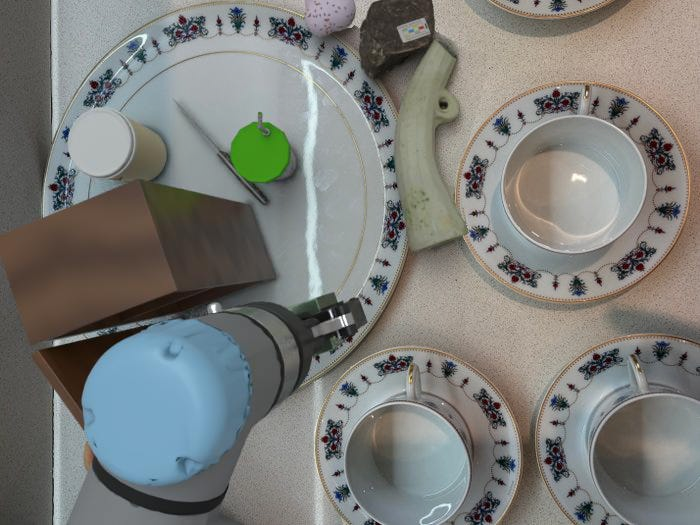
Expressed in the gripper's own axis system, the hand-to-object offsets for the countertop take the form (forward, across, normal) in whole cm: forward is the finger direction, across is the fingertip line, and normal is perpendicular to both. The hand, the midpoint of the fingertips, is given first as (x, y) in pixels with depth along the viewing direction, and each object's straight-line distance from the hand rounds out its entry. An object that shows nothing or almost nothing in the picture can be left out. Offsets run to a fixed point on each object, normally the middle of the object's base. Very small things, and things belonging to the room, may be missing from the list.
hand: (318, 323), depth 69 cm
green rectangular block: (+1, 0, 0) cm, 1 cm away
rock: (+20, -14, -35) cm, 43 cm away
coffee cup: (+24, +22, -31) cm, 45 cm away
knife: (+24, +11, -27) cm, 38 cm away
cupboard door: (+24, +25, +2) cm, 35 cm away
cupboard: (+24, +17, -13) cm, 32 cm away
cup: (+24, +3, -22) cm, 33 cm away
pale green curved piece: (+19, -12, -18) cm, 29 cm away
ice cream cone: (+24, -18, -47) cm, 56 cm away
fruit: (+24, +39, +8) cm, 47 cm away
